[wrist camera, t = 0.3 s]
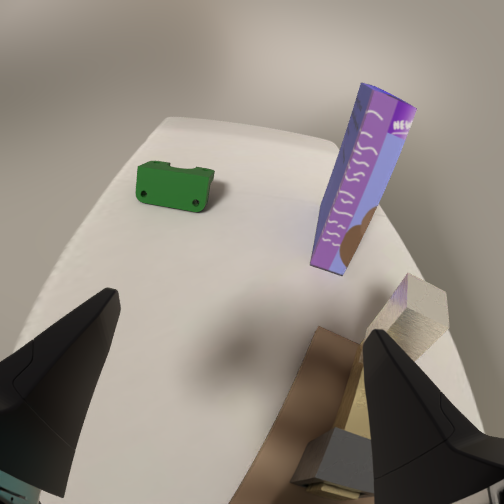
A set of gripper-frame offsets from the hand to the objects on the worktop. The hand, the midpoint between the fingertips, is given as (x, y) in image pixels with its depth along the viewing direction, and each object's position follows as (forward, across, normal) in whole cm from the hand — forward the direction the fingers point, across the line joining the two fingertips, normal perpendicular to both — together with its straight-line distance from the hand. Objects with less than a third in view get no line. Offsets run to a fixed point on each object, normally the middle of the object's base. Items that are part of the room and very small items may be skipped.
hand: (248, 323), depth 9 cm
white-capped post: (+3, -12, +14) cm, 19 cm away
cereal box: (+33, -14, +13) cm, 38 cm away
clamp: (+36, +11, +13) cm, 39 cm away
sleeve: (-1, -9, +16) cm, 19 cm away
